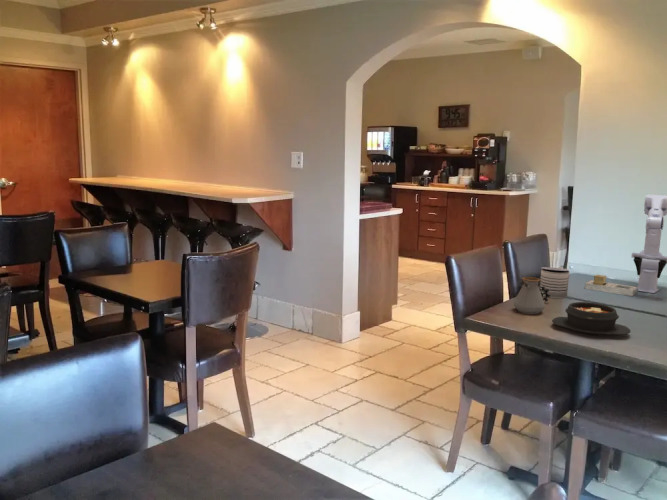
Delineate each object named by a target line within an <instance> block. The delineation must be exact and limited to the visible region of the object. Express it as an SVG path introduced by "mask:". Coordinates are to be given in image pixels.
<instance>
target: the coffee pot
mask: <svg viewBox="0 0 667 500" xmlns="http://www.w3.org/2000/svg"><path fill="white" fill-rule="evenodd" d="M540 279H541V278H538V277H532V276H524V277H521V280H519V282H518V285H519V286H521V288H520V290H519V292H518V294H517V295H516V297H515V300H514V301H513V305H514V308H515V309H517V310H518V312H519V313H521V314H524V315H525V314H526V315H538V314H539V313H540V312H542V311H544V309H545V307H546V303H545V300H543V299H544V297H542V295H541V292H540V289H539V288H540V286H539V284H540ZM520 282H521V284H522V285H521V284H520Z"/></svg>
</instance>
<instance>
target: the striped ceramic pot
mask: <svg viewBox="0 0 667 500" xmlns="http://www.w3.org/2000/svg"><path fill="white" fill-rule="evenodd" d="M540 269H541V271H540V278H539V279H540V281H539V288H540V289H542V288H541V287H545V290H547V289H548V290H549V292H547V294H549V295H550V297H548V298H551V299H565V298H567V297H568V289H569V278H570V269H567V268H561V267H548V266H546V267H545V266H544V267H542V268H540ZM540 292H543V293H545V292H544V291H540ZM543 297H544V298H545V297H546V294H544V296H543Z"/></svg>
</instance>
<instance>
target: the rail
mask: <svg viewBox="0 0 667 500" xmlns="http://www.w3.org/2000/svg"><path fill="white" fill-rule="evenodd" d="M584 289H586V290H591V291H597V292H605V293H608V294H609V293H611V294H616V295H622V296H629V297H634V296H635V295H637V294H638V292H639V291H638V286H633V285H632V286H631V285H625V284H619V283H613V282H607V281H606V284H605V285H599V284H594V279H591V280H589V281H586V282H585V283H584Z"/></svg>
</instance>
